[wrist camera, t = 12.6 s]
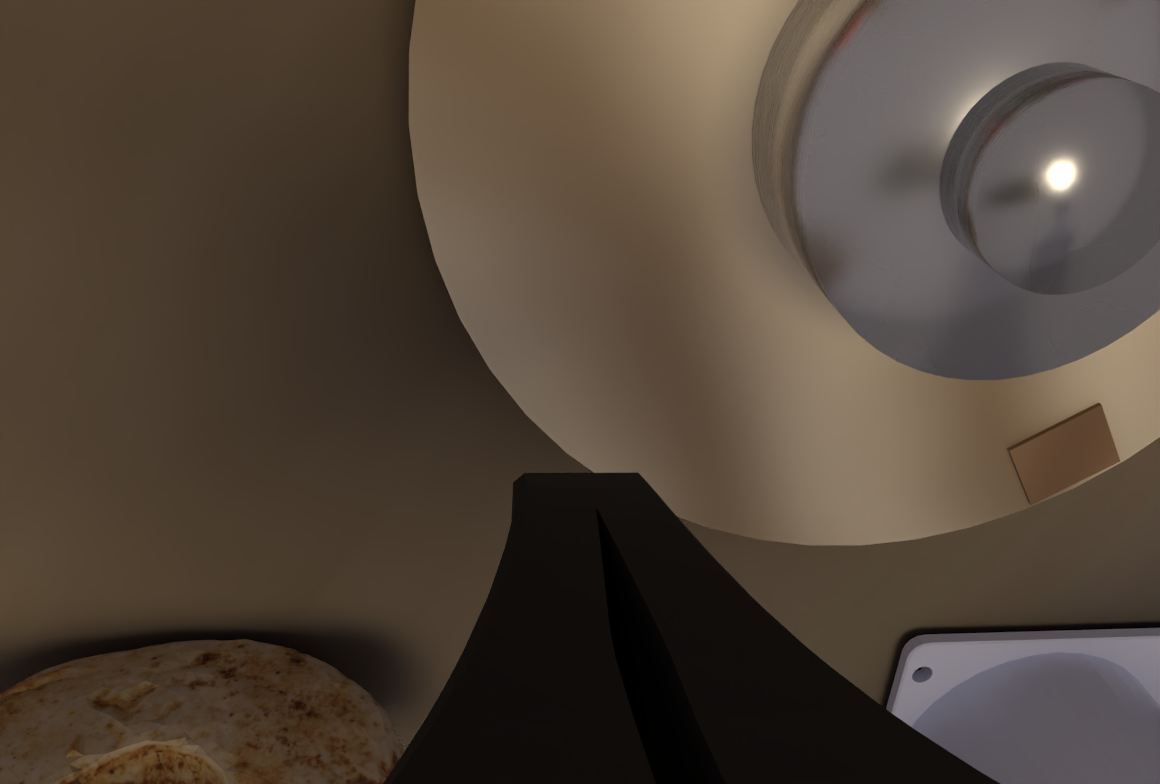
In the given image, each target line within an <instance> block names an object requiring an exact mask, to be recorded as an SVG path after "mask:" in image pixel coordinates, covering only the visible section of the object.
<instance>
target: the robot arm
mask: <svg viewBox="0 0 1160 784" xmlns="http://www.w3.org/2000/svg"><path fill="white" fill-rule="evenodd" d="M921 667H923V668H922V669H920V670H918V671H915V670H917V669H918V668H921ZM383 784H1160V628H1135V629H1100V630H1065V631H1030V632H994V633H959V634H925V635H920V636H916V637H914V638H912V639H911V640H909V641H908V642H907V643H906V644H905V646H904V648H903V650H902V653H901V656H900V660H899V664H898V667H897V671H896V675H895V678H894V682H893V685H892V689H891V693H890V696H889V700H888V703H887V707H886V709H885V708H884V707H882V706H881V705H879V704H878V703H877V702H876V701H874V700H873V699H872V698H870V697H869V696H868V695H866V694H865V693H864V692H862V691H861V690H860V689H859V688H857V687H856V686H855V685H853V684H852V683H851V682H849V681H848V680H847V679H846V678H844V677H843V676H842V675H840V674H839V673H838V672H836V671H835V670H834V669H833V668H831V667H830V666H829V665H827V664H826V663H825V662H824V661H823V660H821V659H820V658H819V657H818V656H817V655H815V654H814V653H813V652H812V651H811V650H809V649H808V648H807V647H806V646H805V645H804V644H802V643H801V642H800V641H799V640H798V639H797V638H796V637H795V636H793V635H792V634H791V633H790V632H789V631H788V630H787V629H786V628H785V627H784V626H782V625H781V624H780V623H779V622H778V621H777V620H776V619H775V618H774V617H773V616H771V615H770V614H769V613H768V612H767V611H766V610H765V609H764V608H763V607H762V606H761V605H760V604H759V603H758V602H756V601H755V600H754V599H753V598H752V597H751V596H750V595H749V594H748V593H747V592H746V591H745V589H744V588H743V587H742V586H741V585H740V584H739V583H738V582H737V581H736V580H735V579H734V578H733V577H732V576H731V575H730V574H729V573H728V572H727V571H726V570H725V569H724V568H723V567H722V566H721V565H720V564H719V563H718V562H717V561H716V559H715V558H714V557H713V556H712V555H711V554H710V553H709V552H708V551H707V550H706V549H705V548H704V546H703V545H702V544H701V543H700V542H699V541H698V540H697V539H696V538H695V536H694V535H693V534H692V533H691V532H690V531H689V530H688V529H687V527H686V526H685V525H684V524H683V523H682V522H681V521H680V519H679V518H678V517H677V516H676V515H675V514H674V513H673V511H672V510H671V509H670V508H669V507H668V506H667V504H666V503H665V502H664V501H663V500H662V499H661V497H660V496H659V495H658V494H657V493H656V492H655V490H654V489H653V488H652V487H651V486H650V485H649V484H648V482H647V481H646V480H645V479H644V478H643V477H642V476H641V475H640V474H639V473H638V472H636V473H524V474H523V475H522V476H521V477H519V478H518V479H517V480H516V481H515V482H513V501H512V522H511V526H510V530H509V534H508V538H507V542H506V546H505V549H504V552H503V555H502V558H501V561H500V564H499V567H498V570H497V573H496V576H495V579H494V581H493V584H492V587H491V590H490V593H489V595H488V598H487V600H486V602H485V605H484V607H483V609H482V611H481V613H480V616H479V618H478V620H477V622H476V625H475V627H474V629H473V631H472V633H471V636H470V638H469V640H468V642H467V645H466V647H465V649H464V651H463V653H462V655H461V657H460V659H459V661H458V663H457V665H456V667H455V668H454V670H453V672H452V674H451V676H450V678H449V680H448V682H447V683H446V685H445V687H444V689H443V691H442V692H441V694H440V696H439V697H438V699H437V701H436V703H435V704H434V706H433V708H432V709H431V711H430V713H429V715H428V716H427V718H426V719H425V721H424V723H423V724H422V726H421V727H420V729H419V730H418V732H417V734H416V735H415V737H414V738H413V740H412V741H411V743H410V744H409V746H408V747H407V749H406V750H405V752H404V753H403V755H402V756H401V758H400V759H399V761H398V762H397V764H396V765H395V767H394V769H393V770H392V771H391V773H390V774H389V776H388V777H387V778H386V780H385V781H384V783H383Z"/></svg>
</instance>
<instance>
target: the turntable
mask: <svg viewBox="0 0 1160 784" xmlns="http://www.w3.org/2000/svg"><path fill="white" fill-rule="evenodd" d="M798 1H799V0H416V2H415V9H414V17H413V24H412V32H411V39H410V47H409V130H410V138H411V146H412V154H413V162H414V170H415V178H416V186H417V193H418V198H419V202H420V206H421V209H422V213H423V217H424V221H425V224H426V228H427V232H428V236H429V239H430V243H431V247H432V251H433V254H434V258H435V261H436V263H437V266H438V268H439V271H440V273H441V275H442V278H443V280H444V283H445V285H446V287H447V290H448V292H449V294H450V297H451V299H452V302H453V304H454V306H455V309H456V311H457V314H458V316H459V318H460V320H461V322H462V323H463V325H464V327H465V328H466V330H467V332H468V333H469V335H470V337H471V339H472V340H473V342H474V344H475V345H476V347H477V349H478V350H479V352H480V354H481V355H482V357H483V359H484V360H485V362H486V364H487V366H488V367H489V369H490V370H491V372H492V373H493V374H494V375H495V377H496V378H497V379H498V380H499V382H500V383H501V384H502V385H503V387H504V388H505V389H506V390H507V392H508V393H509V394H510V395H511V397H512V398H513V399H514V400H515V402H516V403H517V404H518V405H519V407H520V408H521V409H522V410H523V412H524V413H525V414H526V415H527V416H528V417H529V418H530V419H531V420H532V421H533V422H534V423H535V424H536V425H537V426H538V427H539V428H541V429H542V430H543V431H544V432H545V433H546V434H547V435H548V436H549V437H550V438H551V439H552V440H553V441H554V442H555V443H556V444H557V445H559V446H560V447H561V448H562V449H563V450H564V451H565V452H566V453H567V454H569V455H570V456H571V457H573V458H574V459H576V460H577V461H578V462H580V463H581V464H583V465H584V466H585V467H587V468H588V469H590V470H591V471H592V472H594V473H636V472H638V473H639V474H640V475H641V476H642V477H643V478H644V479H645V480H646V481H647V482H648V484H649V485H650V486H651V487H652V488H653V489H654V490H655V492H656V493H657V494H658V495H659V496H660V497H661V499H662V500H663V501H664V502H665V503H666V504H667V506H668V507H669V508H670V509H671V510H672V511H673V513H674V514H675V515H676V516H677V517H680V518H682V519H685V520H688V521H690V522H693V523H696V524H698V525H701V526H704V527H707V528H711V529H715V530H719V531H724V532H728V533H732V534H736V535H741V536H745V537H749V538H753V539H758V540H767V541H775V542H784V543H793V544H802V545H870V544H879V543H888V542H897V541H906V540H915V539H920V538H925V537H929V536H934V535H938V534H943V533H948V532H952V531H957V530H961V529H966V528H970V527H973V526H976V525H979V524H983V523H986V522H989V521H992V520H995V519H998V518H1001V517H1004V516H1007V515H1010V514H1013V513H1016V512H1020V511H1023V510H1025V509H1027V508H1030V507H1032V506H1034V505H1036V504H1039V503H1041V502H1043V501H1046V500H1048V499H1050V498H1053V497H1055V496H1057V495H1059V494H1062V493H1064V492H1066V491H1069V490H1071V489H1073V488H1076V487H1077V486H1079V485H1081V484H1083V483H1085V482H1086V481H1088V480H1090V479H1092V478H1094V477H1096V476H1097V475H1099V474H1101V473H1103V472H1105V471H1106V470H1108V469H1110V468H1112V467H1114V466H1116V465H1117V464H1119V463H1121V462H1123V461H1125V460H1126V459H1128V458H1129V457H1131V456H1132V455H1134V454H1135V453H1137V452H1138V451H1140V450H1141V449H1143V448H1144V447H1146V446H1147V445H1149V444H1150V443H1152V442H1153V441H1155V440H1156V439H1158V438H1159V437H1160V310H1159V311H1158V312H1156V313H1155V314H1154V315H1152V316H1151V317H1150V318H1148V319H1147V320H1146V321H1144V322H1143V323H1142V324H1140V325H1139V326H1138V327H1136V328H1135V329H1134V330H1132V331H1131V332H1129V333H1128V334H1126V335H1124V336H1123V337H1121V338H1119V339H1118V340H1116V341H1115V342H1113V343H1111V344H1110V345H1108V346H1106V347H1104V348H1102V349H1100V350H1098V351H1096V352H1094V353H1092V354H1090V355H1088V356H1086V357H1084V358H1082V359H1080V360H1077V361H1074V362H1071V363H1069V364H1066V365H1063V366H1061V367H1058V368H1055V369H1052V370H1048V371H1044V372H1040V373H1036V374H1032V375H1028V376H1024V377H1016V378H1009V379H1002V380H963V379H954V378H945V377H941V376H937V375H933V374H929V373H925V372H921V371H919V370H916V369H914V368H911V367H909V366H906V365H904V364H902V363H899V362H897V361H895V360H894V359H892V358H890V357H889V356H887V355H885V354H884V353H882V352H880V351H878V350H877V349H875V348H874V347H873V346H872V345H871V344H869V343H868V342H867V341H866V340H865V339H863V338H862V337H861V336H860V335H859V334H857V333H856V332H855V330H854V329H853V328H852V327H851V326H850V325H849V324H848V322H847V321H846V320H845V319H844V318H843V317H842V316H841V314H840V313H839V312H838V311H837V310H836V308H835V307H834V306H833V305H832V304H831V302H830V301H829V300H828V299H827V298H826V296H825V295H824V294H823V293H822V292H821V290H820V289H819V288H818V287H817V286H816V284H815V283H814V282H813V281H812V280H811V278H810V277H809V276H808V275H807V274H806V272H805V271H804V270H803V269H802V268H801V266H800V265H799V264H798V263H797V262H796V260H795V259H794V258H793V257H792V256H791V254H790V253H789V252H788V251H787V250H786V248H785V247H784V246H783V244H782V243H781V241H780V239H779V238H778V236H777V235H776V233H775V232H774V230H773V229H772V227H771V225H770V222H769V220H768V218H767V216H766V213H765V211H764V209H763V207H762V204H761V200H760V197H759V193H758V190H757V186H756V183H755V177H754V169H753V162H752V132H751V130H752V121H753V113H754V105H755V99H756V95H757V91H758V87H759V83H760V79H761V75H762V72H763V70H764V67H765V64H766V62H767V59H768V56H769V54H770V51H771V48H772V46H773V44H774V42H775V40H776V38H777V36H778V34H779V32H780V30H781V29H782V27H783V25H784V23H785V21H786V19H787V18H788V16H789V15H790V13H791V12H792V10H793V9H794V7H795V6H796V4H797V3H798Z"/></svg>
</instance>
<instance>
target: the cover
mask: <svg viewBox="0 0 1160 784" xmlns="http://www.w3.org/2000/svg"><path fill="white" fill-rule="evenodd" d="M751 132H752V162H753V169H754V177H755V183H756V186H757V190H758V193H759V197H760V200H761V204H762V207H763V209H764V211H765V213H766V216H767V218H768V220H769V222H770V225H771V227H772V229H773V230H774V232H775V233H776V235H777V236H778V238H779V239H780V241H781V243H782V244H783V246H784V247H785V248H786V250H787V251H788V252H789V253H790V254H791V256H792V257H793V258H794V259H795V260H796V262H797V263H798V264H799V265H800V266H801V268H802V269H803V270H804V271H805V272H806V274H807V275H808V276H809V277H810V278H811V280H812V281H813V282H814V283H815V284H816V286H817V287H818V288H819V289H820V290H821V292H822V293H823V294H824V295H825V296H826V298H827V299H828V300H829V301H830V302H831V304H832V305H833V306H834V307H835V308H836V310H837V311H838V312H839V313H840V314H841V316H842V317H843V318H844V319H845V320H846V321H847V322H848V324H849V325H850V326H851V327H852V328H853V329H854V330H855V332H856V333H857V334H859V335H860V336H861V337H862V338H863V339H865V340H866V341H867V342H868V343H869V344H871V345H872V346H873V347H874V348H875V349H877V350H878V351H880V352H882V353H884V354H885V355H887V356H889V357H890V358H892V359H894V360H895V361H897V362H899V363H902V364H904V365H906V366H909V367H911V368H914V369H916V370H919V371H921V372H925V373H929V374H933V375H937V376H941V377H945V378H954V379H963V380H1002V379H1009V378H1016V377H1024V376H1028V375H1032V374H1036V373H1040V372H1044V371H1048V370H1052V369H1055V368H1058V367H1061V366H1063V365H1066V364H1069V363H1071V362H1074V361H1077V360H1080V359H1082V358H1084V357H1086V356H1088V355H1090V354H1092V353H1094V352H1096V351H1098V350H1100V349H1102V348H1104V347H1106V346H1108V345H1110V344H1111V343H1113V342H1115V341H1116V340H1118V339H1119V338H1121V337H1123V336H1124V335H1126V334H1128V333H1129V332H1131V331H1132V330H1134V329H1135V328H1136V327H1138V326H1139V325H1140V324H1142V323H1143V322H1144V321H1146V320H1147V319H1148V318H1150V317H1151V316H1152V315H1154V314H1155V313H1156V312H1158V311H1159V310H1160V0H799V1H798V3H797V4H796V6H795V7H794V9H793V10H792V12H791V13H790V15H789V16H788V18H787V19H786V21H785V23H784V25H783V27H782V29H781V30H780V32H779V34H778V36H777V38H776V40H775V42H774V44H773V46H772V48H771V51H770V54H769V56H768V59H767V62H766V64H765V67H764V70H763V72H762V75H761V79H760V83H759V87H758V91H757V95H756V99H755V105H754V113H753V121H752V130H751Z"/></svg>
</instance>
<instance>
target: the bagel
mask: <svg viewBox="0 0 1160 784" xmlns="http://www.w3.org/2000/svg"><path fill="white" fill-rule="evenodd" d="M403 753H404V749H403V747H402V744H401V743H400V741H399V739H398V737H397V735H396V732H395V730H394V727H393V725H392V723H391V721H390V719H389V717H388V714H387V712H386V710H385V709H384V708H382V707H381V706H380V705H379V704H378V703H377V702H376V701H375V700H374V698H373V697H372V696H371V695H370V693H369V692H367V691H366V690H365V689H363V688H362V687H361V686H360V685H358V684H357V683H356V682H355V681H353V680H351V679H349V678H347V677H346V676H345V675H344V674H342V673H341V672H340V671H339V670H337V669H336V668H334V667H332V666H330V665H329V664H327V663H325V662H323V661H320V660H318V659H316V658H314V657H312V656H310V655H308V654H306V653H303V652H300V651H297V650H294V649H291V648H288V647H284V646H279V645H274V644H268V643H262V642H257V641H252V640H248V639H240V640H227V641H219V640H194V641H181V642H172V643H167V644H160V645H152V646H146V647H143V648H138V649H134V650H126V651H118V652H112V653H106V654H101V655H96V656H91V657H86V658H81V659H77V660H72V661H69V662H66V663H63V664H60V665H57V666H53V667H50V668H47V669H45V670H43V671H41V672H39V673H37V674H35V675H33V676H31V677H28V678H26V679H25V680H23V681H21V682H20V683H18V684H16V685H15V686H13V687H11V688H9V689H8V690H6V691H4V692H3V693H1V694H0V784H383V783H384V781H385V780H386V778H387V777H388V776H389V774H390V773H391V771H392V770H393V769H394V767H395V765H396V764H397V762H398V761H399V759H400V758H401V756H402V755H403Z"/></svg>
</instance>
